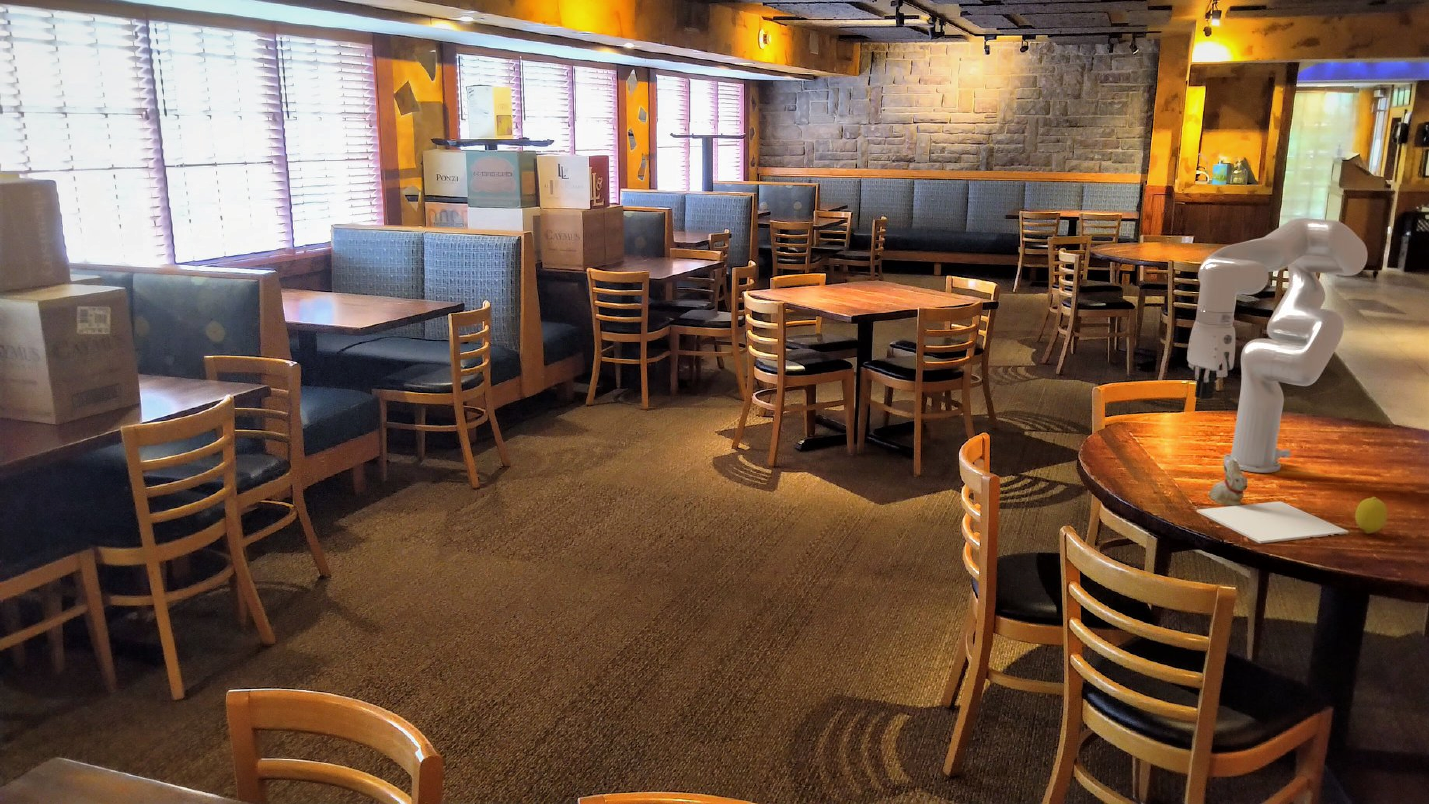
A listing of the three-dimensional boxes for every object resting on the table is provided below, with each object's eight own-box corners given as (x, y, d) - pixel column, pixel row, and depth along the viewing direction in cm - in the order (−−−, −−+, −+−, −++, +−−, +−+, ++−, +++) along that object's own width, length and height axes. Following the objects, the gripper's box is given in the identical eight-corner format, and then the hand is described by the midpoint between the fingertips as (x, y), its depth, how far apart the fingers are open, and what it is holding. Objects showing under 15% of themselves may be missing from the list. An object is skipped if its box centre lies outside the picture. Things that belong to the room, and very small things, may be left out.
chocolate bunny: (1220, 507, 226) (1226, 464, 223) (1205, 495, 233) (1211, 453, 231) (1246, 508, 226) (1252, 464, 223) (1230, 495, 233) (1236, 453, 231)
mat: (1280, 503, 229) (1280, 501, 228) (1348, 533, 212) (1348, 531, 212) (1196, 511, 223) (1196, 509, 223) (1259, 543, 206) (1260, 541, 206)
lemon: (1346, 528, 214) (1352, 492, 212) (1371, 528, 215) (1377, 492, 213) (1364, 539, 209) (1371, 502, 207) (1390, 538, 210) (1397, 501, 207)
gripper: (1254, 323, 223) (1241, 405, 228) (1204, 311, 238) (1194, 389, 242) (1225, 325, 222) (1213, 407, 226) (1176, 312, 236) (1166, 390, 240)
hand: (1203, 397), depth 234 cm, fingers closed
